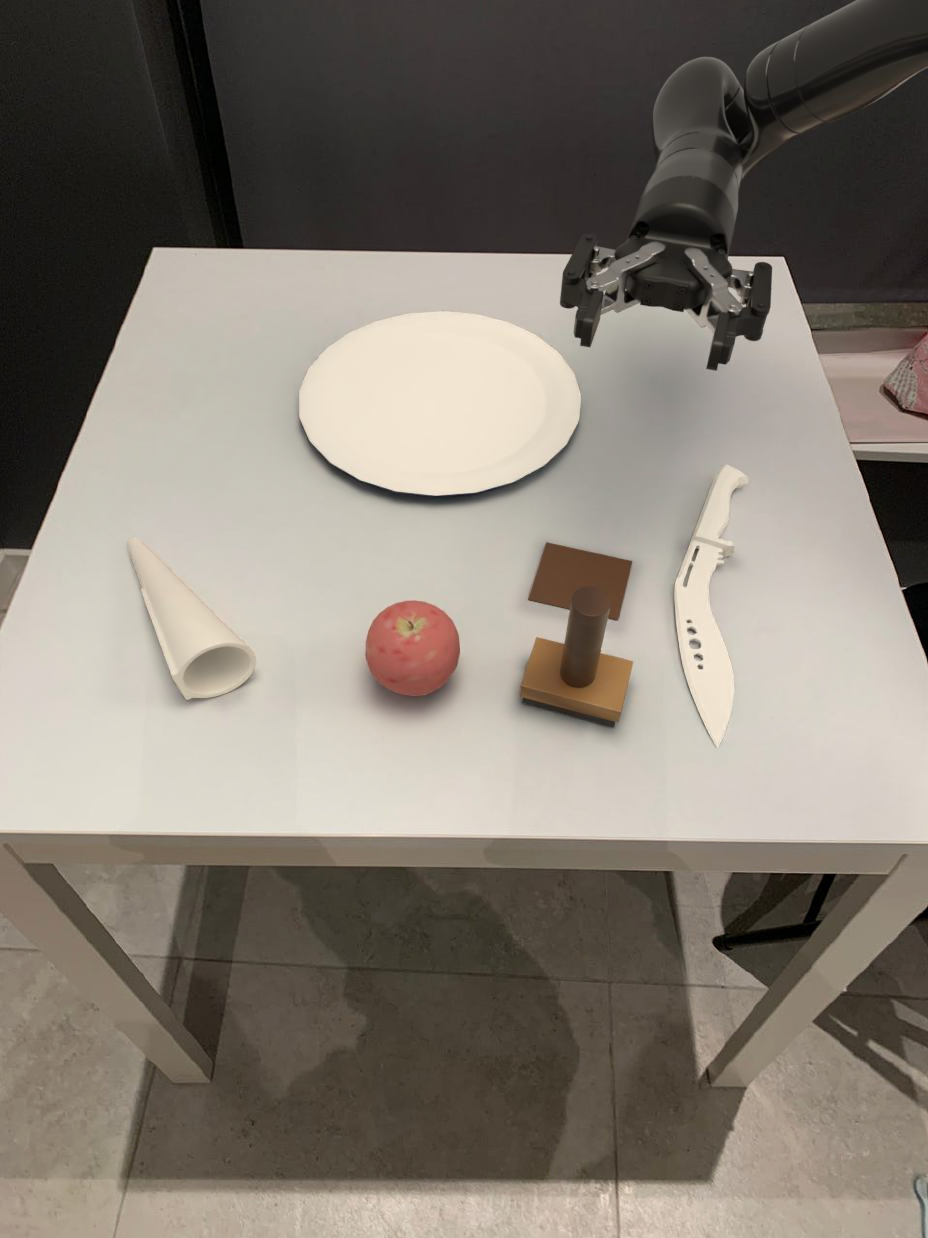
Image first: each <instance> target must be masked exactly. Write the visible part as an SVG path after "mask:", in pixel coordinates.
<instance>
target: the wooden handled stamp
mask: <svg viewBox="0 0 928 1238" xmlns="http://www.w3.org/2000/svg"><path fill="white" fill-rule="evenodd" d="M610 606H611V600H610V597H609V595H608V594H607V593H606V592H605V591H604V590H602V589H601V588H598V587H595V586H585V587H581V588H579V589H578V590H576V591H575V592H574V594H573V596H572V600H571V606H570V609H569V613H568V618H567V623H566V624H567V626H566V631H565V638H564V643H563V642H559V641H555V640H550V639H548V638H547V639H546V638H543V637H539V636H536V637H535V639H534V643H533V647H532V649H531V653H530V656H529V658H528V662H527V665H526V668H525V671H524V674H523V677H522V679H521V683H520V688H519V697H520V698H522V699H521V703H522V704H525V705H528V706H532V707H535V708H539V709H543V710H547V711H551V712H554V713H557V714H562V715H565V716H570V717H574V718H577V719H580V720H584V721H588V722H591V723H595V724H599V725H604V726H607V727H611V728H615V727H616V724H617V723H619V722H620V718H621V714H622V710H623V707H624V703H625V699H626V695H627V690H628V685H629V681H630V677H631V673H632V669H633V665H634V661H633V660H631V659H630V660H629V659H626V658H623V657H618V656H614V655H611V654H607V653H602V646H603V642H604V638H605V633H606V630H607V623H608V620H609V618H608V615H609V611H610Z"/></svg>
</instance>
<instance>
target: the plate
mask: <svg viewBox="0 0 928 1238" xmlns="http://www.w3.org/2000/svg"><path fill="white" fill-rule="evenodd" d="M581 406H582V393H581V391H580V387H579V384H578V380H577V377H576V374H575V372H574V371H573V370H572V368H571V367H570V366H569V364H568V362H567V361H566V360H565V358H564V357H563V356H562V355H561V354H560V352H559V351H557V350H556V349H555V348H554V347H552V346H551V345H549V344H548V343H547V342H546V341H544V340H543V339H542V338H541V337H540V336H538V335H537V334H534V333H532V332H530V331H528V330H527V329H524V328H522V327H520V326H518V325H515V324H513V323H511V322H509V321H505V320H501V319H498V318H494V317H490V316H485V315H483V314H478V313H469V312H461V311H460V312H458V311H448V310H438V311H437V310H436V311H423V312H422V311H421V312H409V313H408V312H407V313H405V314H400V315H396V316H392V317H387V318H382V319H378V320H376V321H373V322H371V323H369V324H366V325H364V326H361V327H359V328H357V329H354V330H351V331H349V332H347V333H346V334H345V335H343V336H342V337H340V338H339V339H338V340H337V341H335V342H333V343H332V344H331V345H329V346H328V347H327V348H325V349H324V350H323V351H322V352H321V354H319V356H318V357H317V358H316V359H315V360H314V362H313V363H312V364H311V366H310V367H308V369H307V371H306V373H305V376H304V378H303V381H302V383H301V386H300V388H299V391H298V416H299V417H298V419H299V421H300V422H301V425H302V427H303V430H304V432H305V434H306V436H307V439H308V441H309V443H310V444H311V445H312V446H313V447H314V448H315V450H316V451H317V452H318V453H320V455H321V456H322V458H324V459H325V460H326V461H327V462H328V463H329V464H330V465H332V466H333V467H335V468H337V469H338V470H340V471H342V472H343V473H345V474H346V475H348V476H350V477H352V478H353V479H355V480H357V481H358V482H361V483H364V484H366V485H367V484H368V485H370V486H374V487H376V488H379V489H383V490H385V491H389V492H393V493H396V494H405V495H413V496H422V497H423V496H424V497H433V498H441V497H451V496H452V497H454V496H465V495H466V496H467V495H477V494H481V493H484V492H488V491H492V490H494V489H498V488H499V489H500V488H501V487H506V486H509V485H512V484H515V483H517V482H518V481H520V480H522V479H524V478H526V477H528V476H530V475H532V474H534V473H535V472H538V471H539V470H541V469H543V468H544V467H546V466H547V465H548V464H549V463H550V462H551V461H552V460H553V459H554V458H556V456H557V455H558V454H559V453H560V452H562V451H563V450H564V449H565V448H566V447H567V445H568V444H569V442H570V440H571V438H572V436H573V434H574V432H575V430H576V429H577V426H578V425H579V423H580V413H581Z"/></svg>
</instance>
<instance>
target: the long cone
mask: <svg viewBox="0 0 928 1238" xmlns="http://www.w3.org/2000/svg"><path fill="white" fill-rule="evenodd" d="M127 549H128V554H129V557H130V560H131V561H132V564H133V566H134V570H135V574H136V576H137V579H138V580H139V583H140V586H141V589H140V591H141V594H142V598H143V601H144V603H145V605H146V609H147V611H148V614H149V617H150V619H151V622H152V625H153V628H154V631H155V634H156V637H157V639H158V642H159V644H160V647H161V650H162V653H163V657H164V660H165V662H166V665H167V667H168V668H167V669H168V670H169V673H170V676H171V678H172V680H173V682H174V684H175V685H176V687H177V689H178V690H179V691H180V693H181V695H182V696H183V697H184V699H185V700H186V701H189V700H191V699H210V698H215V697H219V696H222V695H225V694H228V693H230V692H232V691H234V690H235V689H238V687H240V686H241V685H243V684H244V683H245V682H246V681H247V680H248V679H249V678H250V677H251V676H252V674H253V672H254V671H255V668H256V664H257V657H256V654H255V652H254V650H253V649H252V648H251V647H250V646H249V645H248V644H247V643H246V642H245V641H244V640H243V639H242V638H241V637H240V636H239V635H238V634H237V633H236V632H235V631H234V630H233V629H232V628H231V627H230V626H229V625H227V623H226V622H225V621H224V620H223V619H222V618H220V616H219V615H218V614H217V613H216V612H215V611H214V610H213V609H212V608H211V607H209V605H208V604H206V602H205V601H204V600H203V599H202V598H201V597H200V596H199V595H198V594H197V593H196V592H194V590H193V589H192V588H191V587H190V586H189V585H188V584H187V583H185V581H183V580H182V578H181V577H180V576H178V574H177V573H175V571H174V570H173V569H171V567H170V566H168V564H167V563H166V562H165V561H164V560H163V559H162V558H161V557H159V556H158V554H157V553H156V552H155V551H153V550H152V549H151V548H150V546H148V545H147V544H146V543H145V542H144V541H143V540H141V539H140V538H138V537H136V536H131V537H129V538H128V540H127Z"/></svg>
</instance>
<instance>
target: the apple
mask: <svg viewBox="0 0 928 1238" xmlns="http://www.w3.org/2000/svg"><path fill="white" fill-rule="evenodd" d="M460 654H461V645H460V635H459V631H458V629H457V627H456V625H455V622H454V621H453V619H452V618H451V617H450V616H449V615H448V613H446V612H445V610H443V609H441V608H439V607H438V606H436V605H434V604H432V603H429V602H427V601H422V600H416V599H415V600H414V599H413V600H403V601H399V602H395V603H393V604H391V605H389V606H387V607H385V608H384V609H383V610H382V611H380V612H379V613H378V614H377V615H376V616H375V617H374V619H373V620H372V622H371V624H370V626H369V629H368V631H367V634H366V639H365V660H366V664H367V667H368V670H369V672H370V674H371V675H372V676H373V678H374V679H375V680H376V681H377V682H378V683H379V684H380V685H382V686H383V687H384V688H386V689H387V690H390V691H391V692H394V693H396V694H400V695H403V696H410V697H411V696H413V697H416V696H417V697H419V696H424V695H429V694H432V693H433V692H436V691H438V690H439V689H440V688H441V687H442V686H443V685H445V684H446V683H447V682H448V680H449V679H450V678H451V677H452V675H453V673H454V672H455V670H456V668H457V667H458V664H459V658H460V656H461V655H460Z"/></svg>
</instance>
